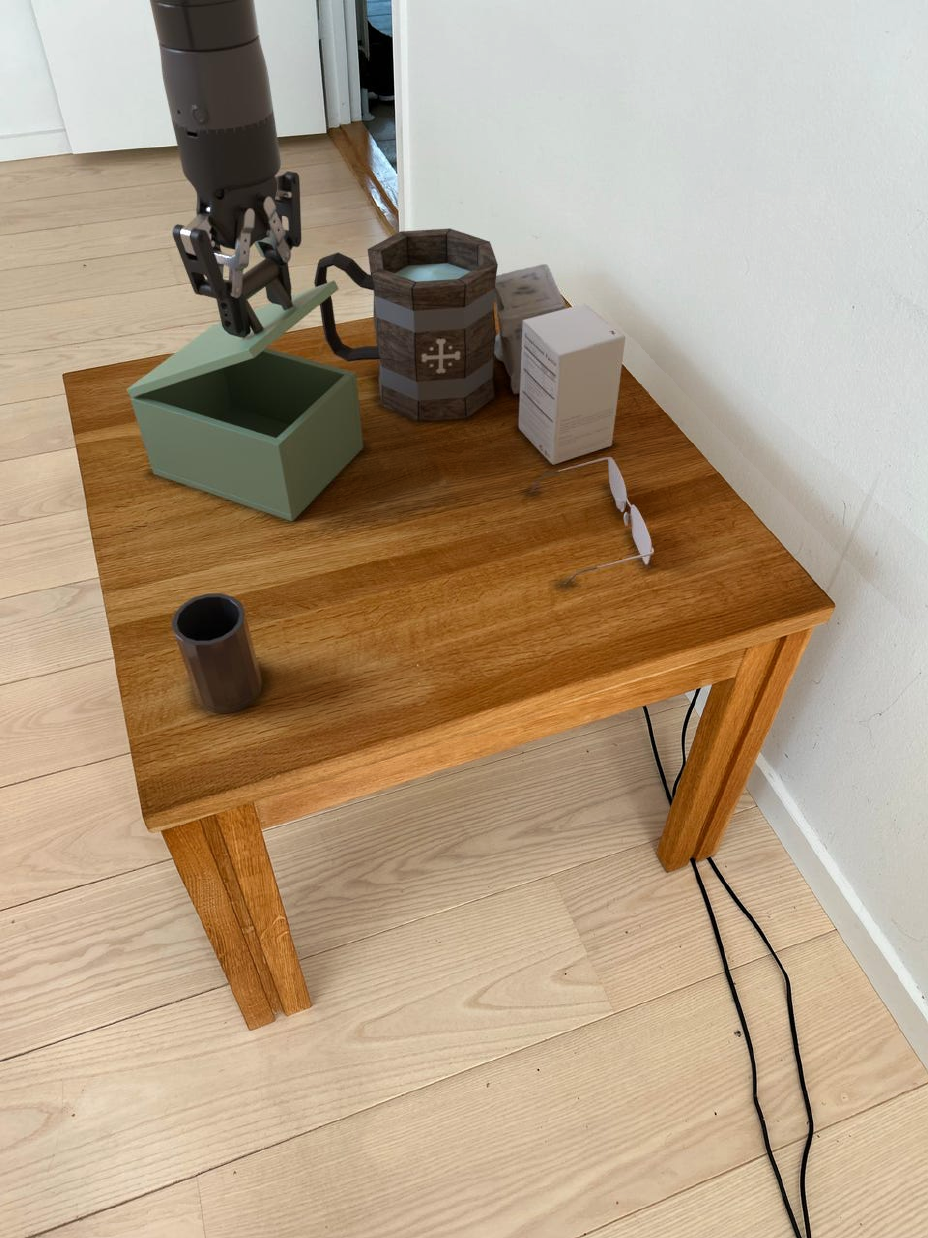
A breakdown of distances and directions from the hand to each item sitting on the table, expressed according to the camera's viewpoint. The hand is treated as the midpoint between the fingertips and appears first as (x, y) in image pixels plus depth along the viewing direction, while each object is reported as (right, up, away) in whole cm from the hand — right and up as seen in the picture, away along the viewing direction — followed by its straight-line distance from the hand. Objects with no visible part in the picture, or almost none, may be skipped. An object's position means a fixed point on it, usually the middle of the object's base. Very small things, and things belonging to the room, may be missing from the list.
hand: (259, 317), depth 81 cm
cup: (-1, -32, -7) cm, 33 cm away
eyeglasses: (+29, -18, +5) cm, 35 cm away
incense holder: (+25, +2, +24) cm, 35 cm away
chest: (-3, -10, +13) cm, 17 cm away
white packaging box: (+28, -8, +16) cm, 33 cm away
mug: (+12, 0, +23) cm, 26 cm away
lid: (-3, -1, +4) cm, 5 cm away
